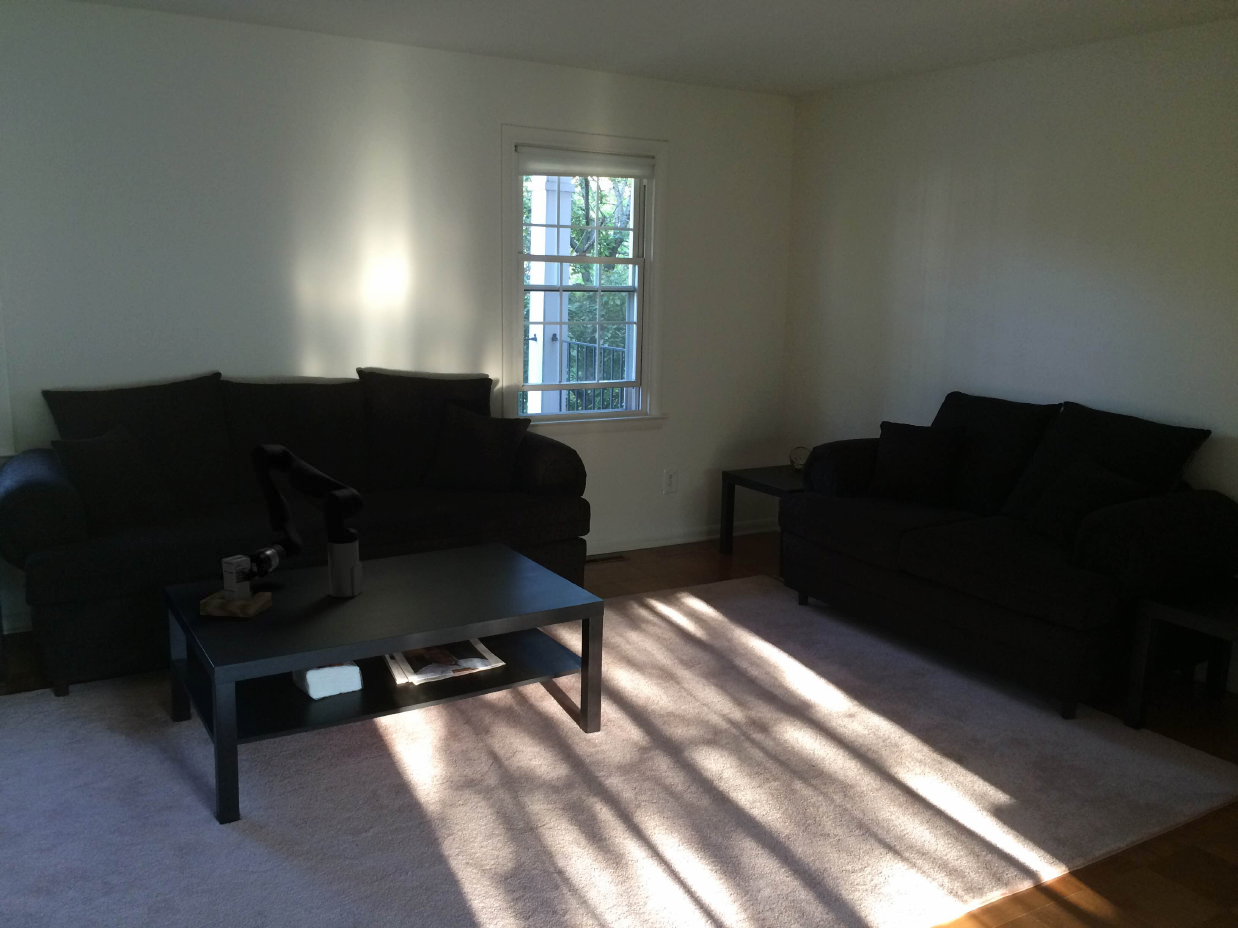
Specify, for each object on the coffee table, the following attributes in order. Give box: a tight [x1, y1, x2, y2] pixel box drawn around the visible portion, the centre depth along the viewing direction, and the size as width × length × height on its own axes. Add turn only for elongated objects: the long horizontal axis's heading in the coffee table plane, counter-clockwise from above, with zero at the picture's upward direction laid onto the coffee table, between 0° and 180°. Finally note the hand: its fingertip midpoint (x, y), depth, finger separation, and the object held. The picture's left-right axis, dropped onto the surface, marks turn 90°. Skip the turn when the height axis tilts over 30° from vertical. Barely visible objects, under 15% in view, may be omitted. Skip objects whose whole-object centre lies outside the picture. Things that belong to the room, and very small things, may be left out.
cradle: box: [199, 589, 273, 619], centre depth 293 cm, size 16×12×4 cm
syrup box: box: [221, 554, 254, 601], centre depth 293 cm, size 6×6×14 cm
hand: (233, 577), depth 291 cm, fingers closed on syrup box, 7 cm apart
